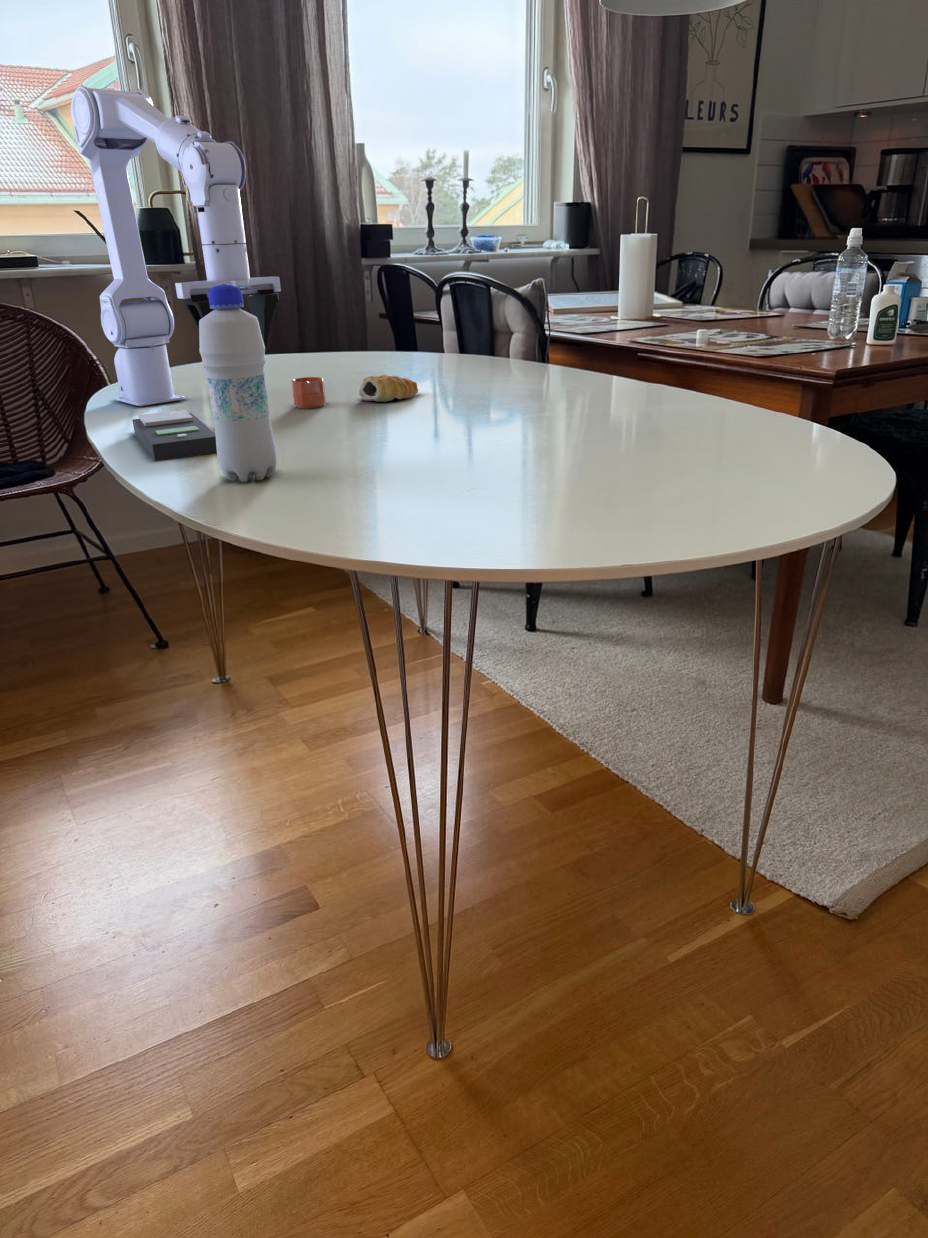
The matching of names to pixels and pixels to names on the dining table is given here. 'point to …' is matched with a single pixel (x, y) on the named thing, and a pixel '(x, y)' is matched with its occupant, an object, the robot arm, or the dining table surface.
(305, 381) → the copper ridged cylinder
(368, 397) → the pastry
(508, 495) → the dining table surface
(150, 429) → the scale
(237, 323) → the bottle
